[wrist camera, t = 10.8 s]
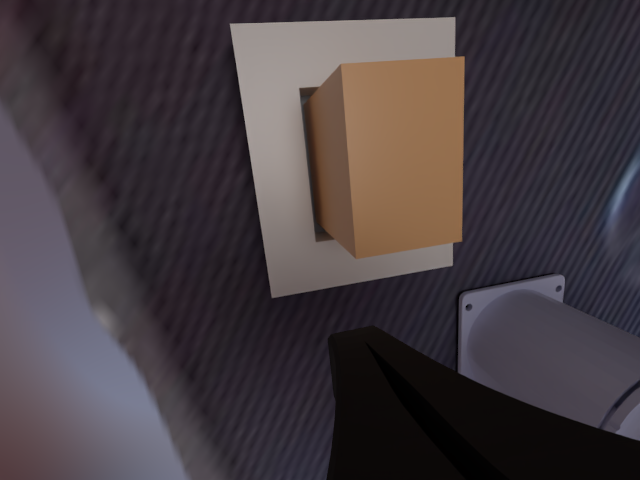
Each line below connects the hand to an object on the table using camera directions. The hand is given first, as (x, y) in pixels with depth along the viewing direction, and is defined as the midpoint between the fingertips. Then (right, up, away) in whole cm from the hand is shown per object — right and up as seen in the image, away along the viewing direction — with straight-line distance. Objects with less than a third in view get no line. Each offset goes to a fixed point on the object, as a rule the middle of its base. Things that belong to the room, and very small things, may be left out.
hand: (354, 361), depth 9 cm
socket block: (0, +8, +9) cm, 11 cm away
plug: (0, +8, +8) cm, 11 cm away
